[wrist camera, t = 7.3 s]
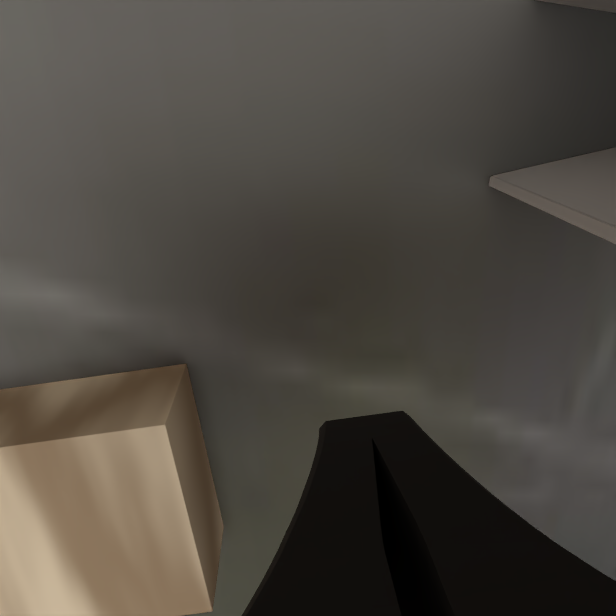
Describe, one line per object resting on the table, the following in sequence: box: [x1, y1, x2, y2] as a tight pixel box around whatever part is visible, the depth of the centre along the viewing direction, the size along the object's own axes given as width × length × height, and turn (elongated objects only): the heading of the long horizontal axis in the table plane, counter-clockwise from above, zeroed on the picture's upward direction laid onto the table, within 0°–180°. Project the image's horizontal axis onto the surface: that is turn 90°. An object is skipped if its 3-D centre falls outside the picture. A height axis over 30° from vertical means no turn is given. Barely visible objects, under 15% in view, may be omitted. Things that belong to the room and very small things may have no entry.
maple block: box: [0, 364, 224, 616], centre depth 19 cm, size 4×7×10 cm
